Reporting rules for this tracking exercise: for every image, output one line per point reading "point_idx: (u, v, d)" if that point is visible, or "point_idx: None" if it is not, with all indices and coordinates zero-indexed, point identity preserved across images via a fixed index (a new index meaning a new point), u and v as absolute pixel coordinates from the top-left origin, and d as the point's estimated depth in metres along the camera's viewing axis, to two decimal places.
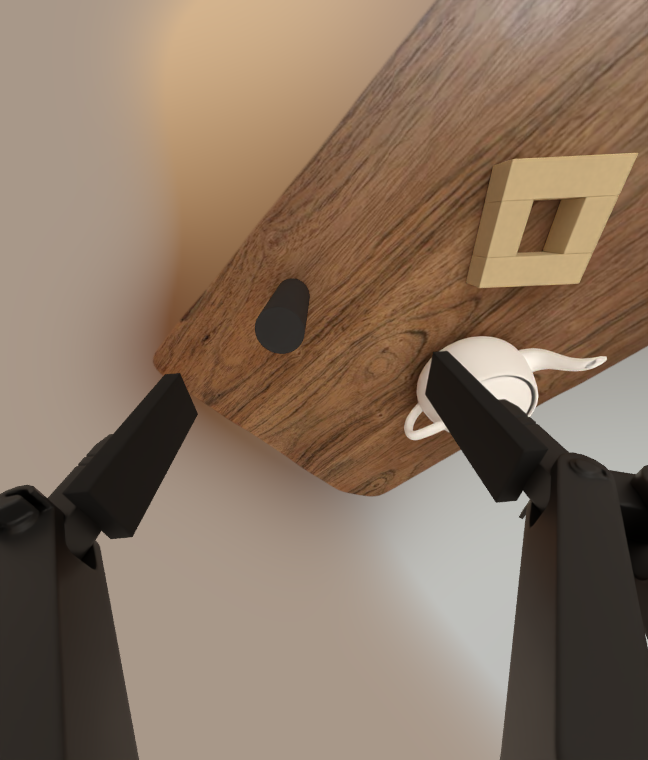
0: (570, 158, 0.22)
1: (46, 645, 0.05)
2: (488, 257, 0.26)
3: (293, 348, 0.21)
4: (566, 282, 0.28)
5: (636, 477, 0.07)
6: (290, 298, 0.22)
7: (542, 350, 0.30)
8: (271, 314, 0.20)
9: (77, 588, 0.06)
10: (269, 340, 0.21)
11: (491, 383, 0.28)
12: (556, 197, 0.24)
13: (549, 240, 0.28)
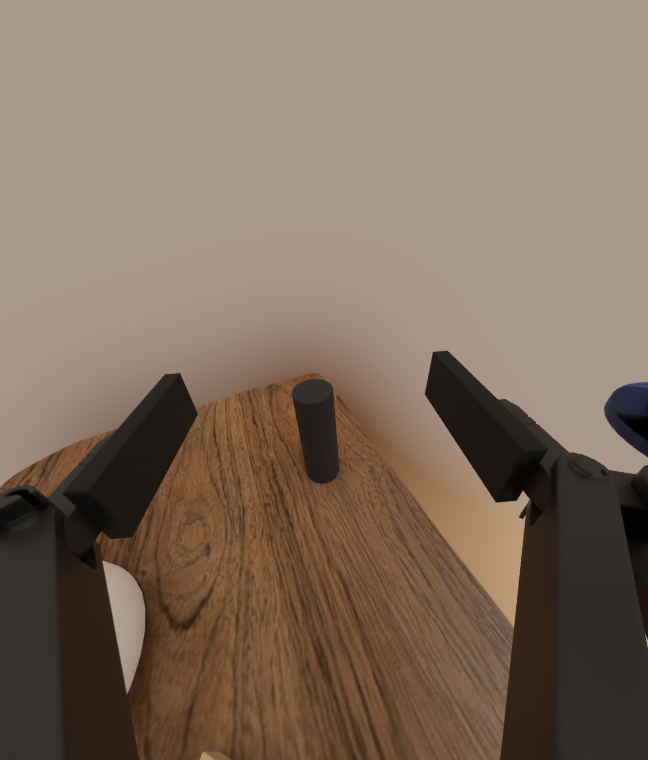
0: None
1: (46, 645, 0.05)
2: None
3: (293, 394, 0.24)
4: None
5: (636, 477, 0.07)
6: (330, 421, 0.25)
7: None
8: (327, 389, 0.25)
9: (77, 588, 0.06)
10: (309, 383, 0.26)
11: None
12: None
13: None
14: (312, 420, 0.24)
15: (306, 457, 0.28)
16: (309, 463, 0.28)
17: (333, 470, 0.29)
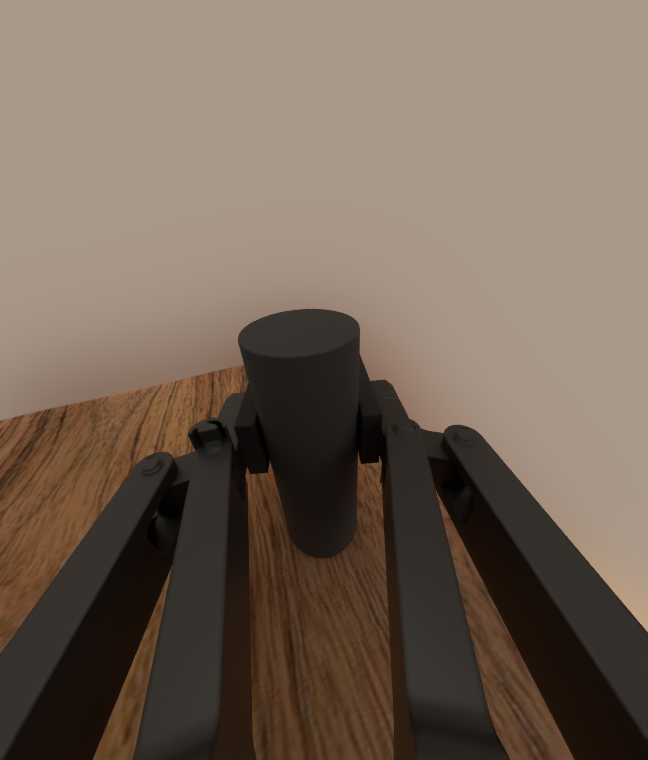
0: None
1: (218, 559, 0.06)
2: None
3: (243, 335, 0.08)
4: None
5: (442, 440, 0.09)
6: (347, 420, 0.09)
7: None
8: (344, 326, 0.08)
9: (236, 517, 0.07)
10: (292, 316, 0.09)
11: None
12: None
13: None
14: (295, 415, 0.08)
15: (284, 504, 0.12)
16: (291, 518, 0.12)
17: (346, 532, 0.13)
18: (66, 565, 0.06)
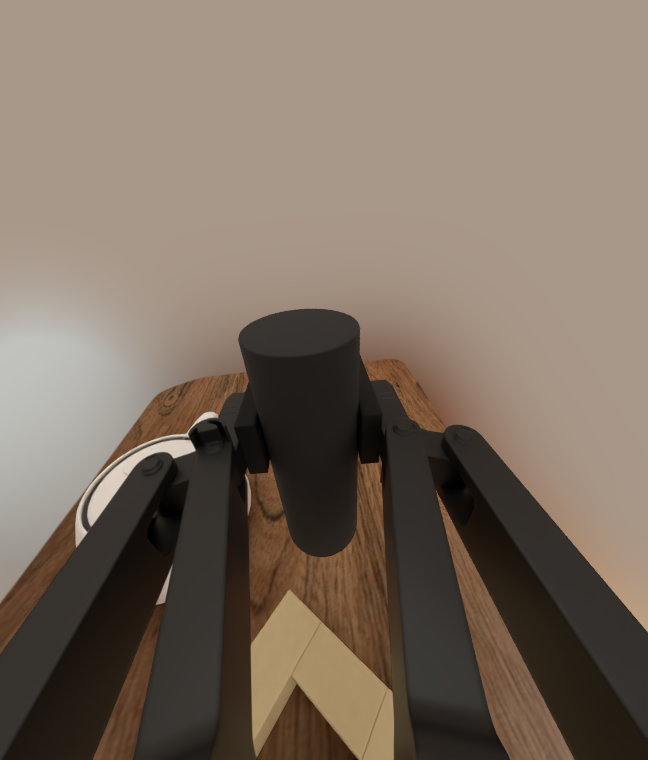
0: None
1: (218, 559, 0.06)
2: (320, 623, 0.17)
3: (244, 334, 0.08)
4: None
5: (442, 441, 0.09)
6: (347, 419, 0.09)
7: None
8: (344, 325, 0.08)
9: (236, 517, 0.07)
10: (292, 316, 0.09)
11: None
12: None
13: None
14: (295, 414, 0.08)
15: (284, 504, 0.12)
16: (291, 517, 0.12)
17: (346, 531, 0.13)
18: (66, 564, 0.06)
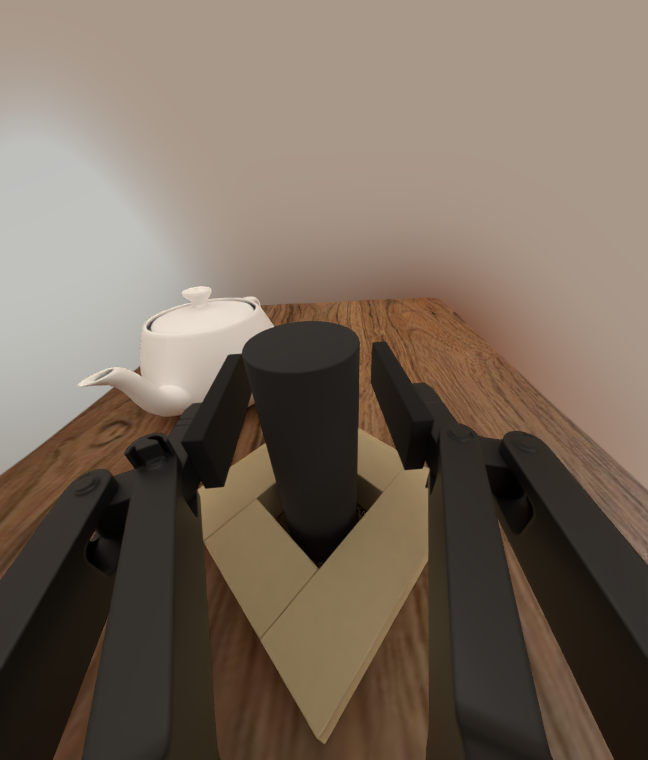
0: (413, 566, 0.11)
1: (164, 577, 0.06)
2: None
3: (247, 349, 0.09)
4: None
5: (501, 445, 0.08)
6: (348, 430, 0.09)
7: (169, 402, 0.19)
8: (344, 339, 0.09)
9: (186, 532, 0.07)
10: (294, 329, 0.10)
11: (236, 317, 0.22)
12: (359, 523, 0.12)
13: None
14: (297, 426, 0.08)
15: (286, 510, 0.12)
16: (292, 524, 0.12)
17: None
18: None
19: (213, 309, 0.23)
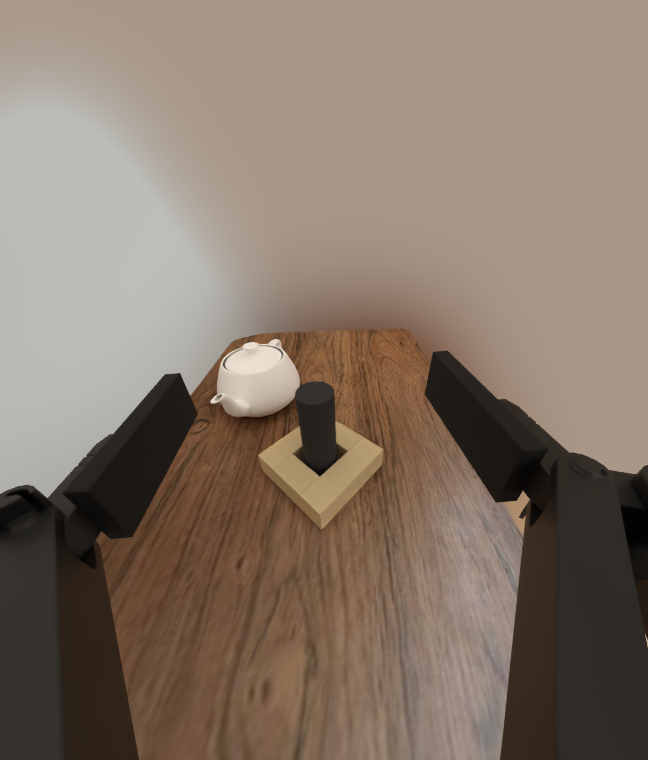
0: (356, 475, 0.28)
1: (46, 645, 0.05)
2: None
3: (296, 394, 0.26)
4: (268, 449, 0.32)
5: (636, 477, 0.07)
6: (330, 422, 0.26)
7: (242, 409, 0.36)
8: (329, 391, 0.26)
9: (77, 588, 0.06)
10: (311, 385, 0.27)
11: (273, 361, 0.39)
12: (337, 462, 0.30)
13: None
14: (313, 420, 0.25)
15: (306, 456, 0.29)
16: (308, 462, 0.30)
17: None
18: None
19: (259, 355, 0.40)
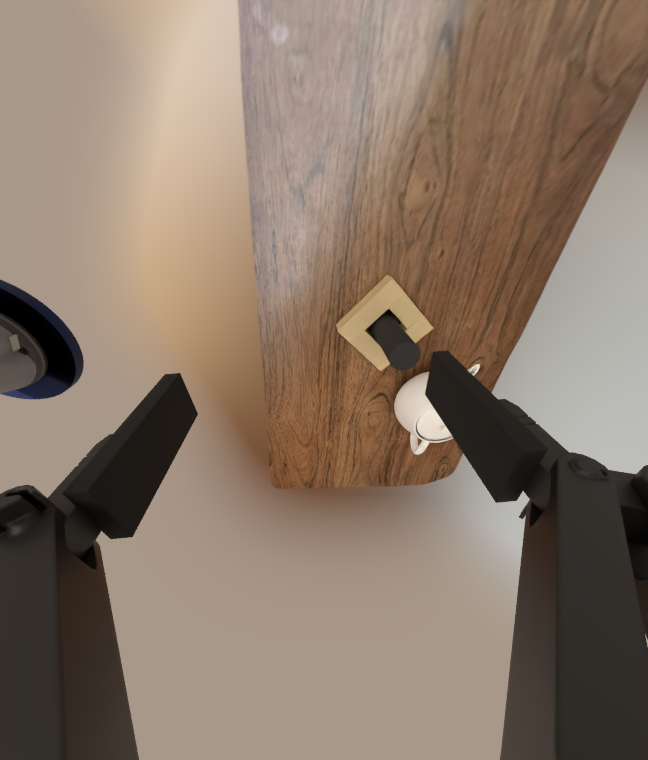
0: (362, 308, 0.38)
1: (46, 645, 0.05)
2: (370, 360, 0.43)
3: (419, 354, 0.32)
4: (425, 333, 0.41)
5: (636, 477, 0.07)
6: (388, 337, 0.34)
7: None
8: (393, 356, 0.32)
9: (77, 588, 0.06)
10: (406, 364, 0.33)
11: (425, 415, 0.43)
12: (374, 320, 0.39)
13: None
14: (403, 335, 0.33)
15: (398, 323, 0.39)
16: (395, 320, 0.39)
17: None
18: None
19: (438, 422, 0.43)
